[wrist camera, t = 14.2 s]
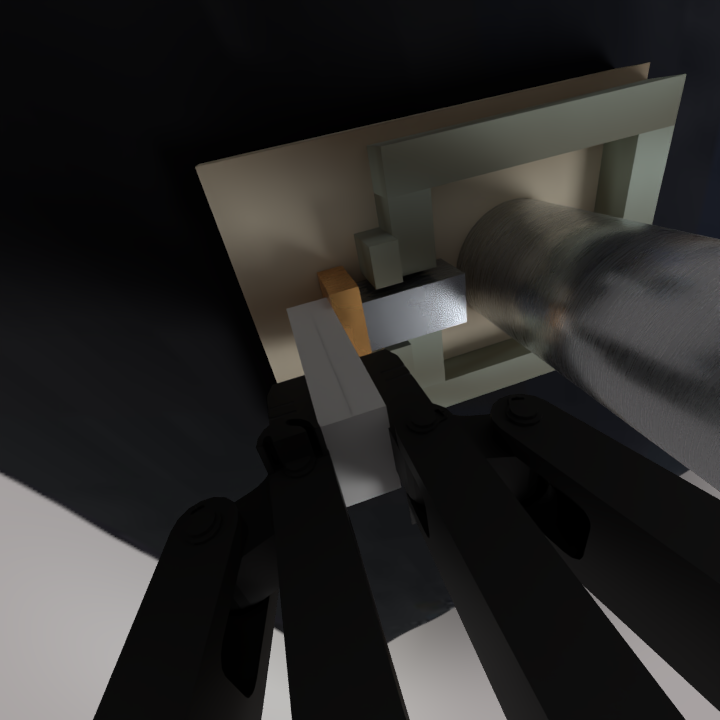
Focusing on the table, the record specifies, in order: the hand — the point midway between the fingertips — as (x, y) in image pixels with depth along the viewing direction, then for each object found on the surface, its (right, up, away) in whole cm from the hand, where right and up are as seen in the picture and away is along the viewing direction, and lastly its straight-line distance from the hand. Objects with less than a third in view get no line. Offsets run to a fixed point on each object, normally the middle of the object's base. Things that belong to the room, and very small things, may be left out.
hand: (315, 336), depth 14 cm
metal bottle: (+8, +3, +2) cm, 9 cm away
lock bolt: (+3, +2, +2) cm, 3 cm away
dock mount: (+5, +3, +3) cm, 7 cm away
